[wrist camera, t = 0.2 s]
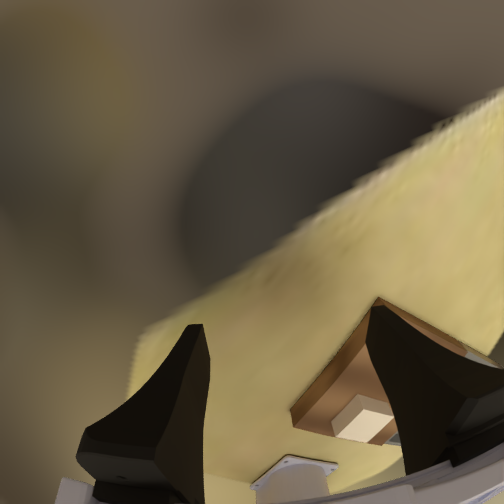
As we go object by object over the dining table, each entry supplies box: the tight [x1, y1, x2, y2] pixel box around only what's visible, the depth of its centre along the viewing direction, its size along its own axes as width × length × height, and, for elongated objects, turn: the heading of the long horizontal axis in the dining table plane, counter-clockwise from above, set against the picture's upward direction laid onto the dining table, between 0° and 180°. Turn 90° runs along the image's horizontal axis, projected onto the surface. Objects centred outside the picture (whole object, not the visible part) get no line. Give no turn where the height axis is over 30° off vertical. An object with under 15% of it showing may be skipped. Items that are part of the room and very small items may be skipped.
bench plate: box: [290, 297, 468, 446], centre depth 26 cm, size 14×12×2 cm
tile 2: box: [331, 394, 394, 443], centre depth 24 cm, size 4×4×2 cm
